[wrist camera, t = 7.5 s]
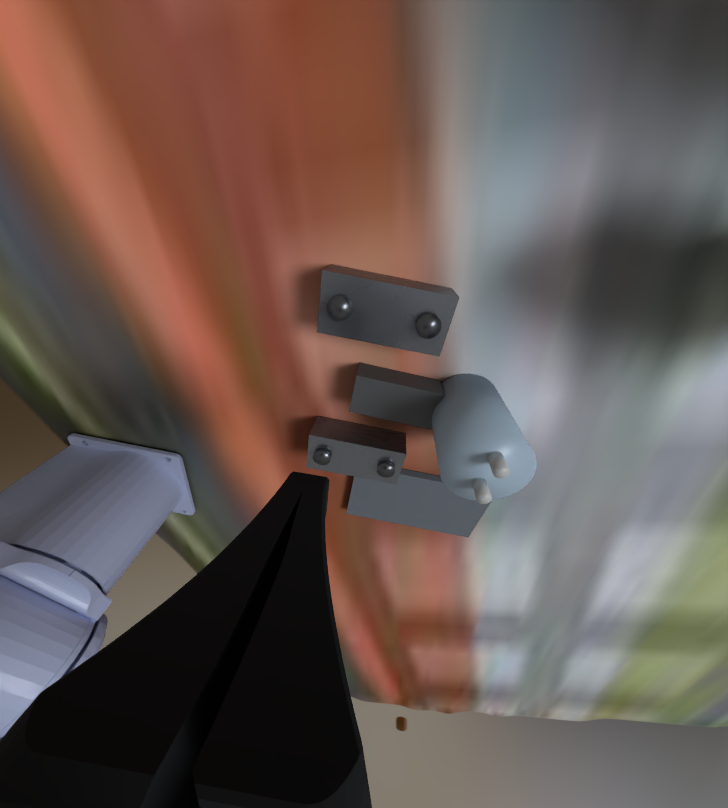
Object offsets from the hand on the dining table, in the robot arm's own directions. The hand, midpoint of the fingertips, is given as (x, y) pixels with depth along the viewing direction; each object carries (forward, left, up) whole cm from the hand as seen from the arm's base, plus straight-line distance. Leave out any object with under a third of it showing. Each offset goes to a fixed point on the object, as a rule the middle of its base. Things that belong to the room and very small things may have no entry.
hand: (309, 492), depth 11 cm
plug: (+5, 0, -9) cm, 11 cm away
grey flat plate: (+7, -10, -9) cm, 16 cm away
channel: (+1, 0, -9) cm, 10 cm away
